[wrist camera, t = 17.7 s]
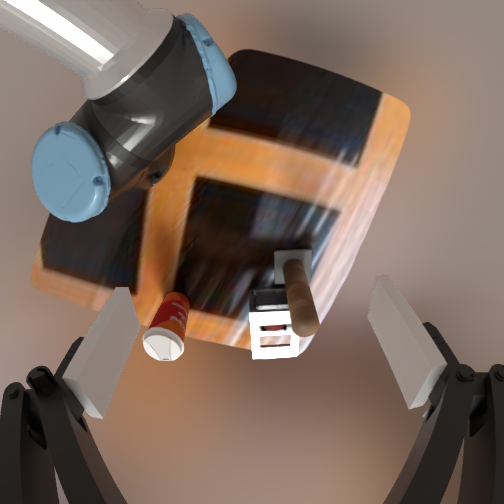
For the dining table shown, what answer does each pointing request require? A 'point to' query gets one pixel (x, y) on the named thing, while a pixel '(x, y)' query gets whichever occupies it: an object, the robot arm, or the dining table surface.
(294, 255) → the mat
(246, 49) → the dining table surface
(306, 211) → the dining table surface
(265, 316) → the box
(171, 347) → the paper cup
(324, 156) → the dining table surface
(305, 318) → the stylus
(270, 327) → the button
